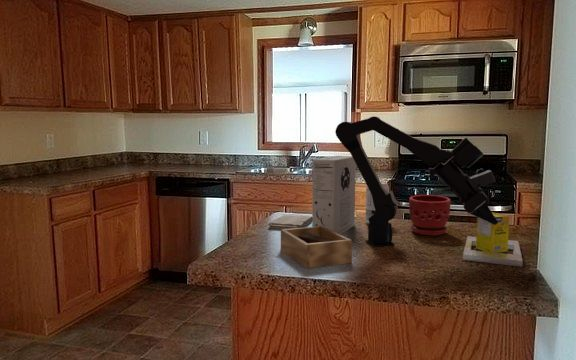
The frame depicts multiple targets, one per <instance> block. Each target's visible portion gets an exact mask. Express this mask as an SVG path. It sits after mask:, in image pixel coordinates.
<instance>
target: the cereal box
mask: <svg viewBox="0 0 576 360" xmlns="http://www.w3.org/2000/svg"><path fill="white" fill-rule="evenodd" d="M356 166H357V165H356V163H355V161H354V159H353V157H352V155H332V156H325V157H321V158H320V157H319V158H315V159H314V158H313V159H312V190H311V191H312V194H311V195H312V197H311V198H312V199H311V200H312V201H311V202H312V203H311V205H312V209H311V210H312V211H311V213H312V215H311V216H312V222H311V223H312V224H311V227H316V226H323V227H325V228H327V229H329V230H331V231H334V232H336V233H338V234H340V235H342V234H343V233H345V232H347V231H348V230H349V229H352V228H354V227H355V223H356V222H355V219H356V218H355V217H356V216H355V214H356V206H355V205H356V204H355V203H356V168H357V167H356Z"/></svg>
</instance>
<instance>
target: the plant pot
mask: <svg viewBox="0 0 576 360" xmlns="http://www.w3.org/2000/svg"><path fill="white" fill-rule="evenodd" d="M408 199H409V200H408V211H409V217H410V220H411V223H412V224H411V225H410V229H411V230H412V231H413V232H414V233H416V234H418V235H422V236H440V235H443V234H445V233H447V229H448V228H447V226H446V225H447V223H448V220H449V217H450V214H451V198H449V197H447V196H443V195H437V194H436V195H435V194H416V195H412V196H410V197H409V198H408Z"/></svg>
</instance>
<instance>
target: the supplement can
mask: <svg viewBox="0 0 576 360" xmlns="http://www.w3.org/2000/svg"><path fill="white" fill-rule="evenodd" d="M380 182H381V184H382V186H383V188H384V189H385V190H386V191H387V192H388V193H389V192H390V186H389V184H388V182H385V181H380ZM365 189H366V190H365V192H366V193H365V223H367V225H368V223H369V218H370V216H371V215H372V214H373V213H374V212H375V207H374V204H373V199H372V195H371V192H370V190H369V188H368V186H367V185H366V186H365Z"/></svg>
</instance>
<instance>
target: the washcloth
mask: <svg viewBox="0 0 576 360" xmlns="http://www.w3.org/2000/svg"><path fill="white" fill-rule="evenodd" d="M310 222H311V223H312V215H311V216H310V215H291V214H290V215H289V214H288V215H287V214H283V215H281V216H279V217H277V218H274V220H272V221H270V222H268V226H269V227H268V230H274V229H276V230H277V231H281V230H282V229H293V228H305V226H306V225H307V226H309V225H308V223H310ZM311 223H310V224H311ZM307 226H306V227H307ZM276 230H275V231H276Z"/></svg>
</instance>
